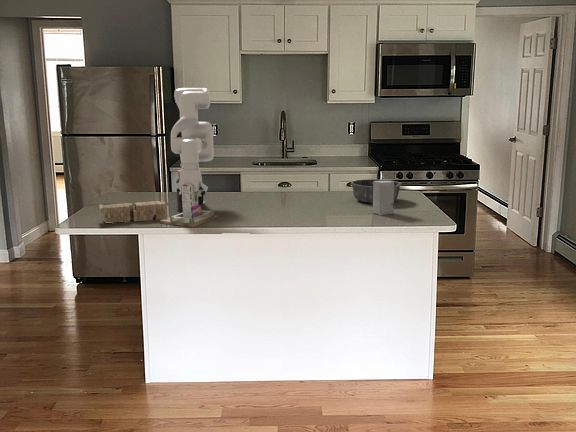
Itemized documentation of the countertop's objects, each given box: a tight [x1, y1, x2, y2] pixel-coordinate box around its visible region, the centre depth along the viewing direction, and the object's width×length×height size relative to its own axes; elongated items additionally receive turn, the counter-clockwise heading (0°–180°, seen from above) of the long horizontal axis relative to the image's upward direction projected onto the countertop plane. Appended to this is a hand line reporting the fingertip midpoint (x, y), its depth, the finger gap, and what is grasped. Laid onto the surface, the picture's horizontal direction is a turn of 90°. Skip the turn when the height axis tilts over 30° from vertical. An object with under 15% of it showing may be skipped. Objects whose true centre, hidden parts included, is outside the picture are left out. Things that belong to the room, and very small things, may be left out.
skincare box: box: [372, 180, 395, 216], centre depth 301 cm, size 8×7×16 cm
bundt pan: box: [350, 178, 402, 204], centre depth 332 cm, size 26×26×10 cm
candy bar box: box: [181, 184, 202, 218], centre depth 286 cm, size 11×5×16 cm, turn 166°
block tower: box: [98, 200, 167, 223], centre depth 290 cm, size 8×8×29 cm
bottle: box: [175, 169, 183, 213], centre depth 309 cm, size 7×7×20 cm
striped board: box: [159, 209, 218, 228], centre depth 289 cm, size 18×20×3 cm
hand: (191, 203), depth 287 cm, fingers open, 9 cm apart
